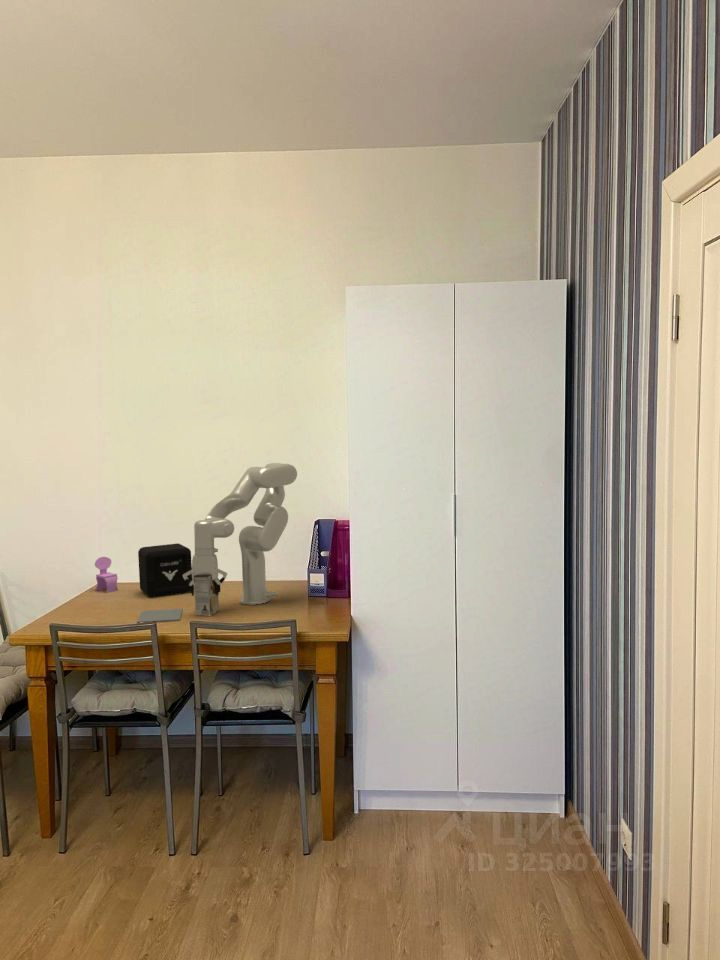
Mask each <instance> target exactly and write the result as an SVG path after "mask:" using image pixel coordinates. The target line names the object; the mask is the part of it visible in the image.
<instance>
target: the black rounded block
mask: <svg viewBox="0 0 720 960" xmlns="http://www.w3.org/2000/svg"><path fill="white" fill-rule="evenodd" d="M137 554H138V556H137V558H138V576H139V579H138V580H139V588H140V590H141V591H142V592H143V593H144V594H146V595H147V596H148V597H150V598H158V596H159V597H164V596H165V595H166V596H171V595H172V594H173V595H179V593H181V594H187V593H186V592H188V593H190V586H189V584H188V583H187V582H185V580H184V578H183V574H184V573H186V572H188V571H190V570H192V551H191V549H190V548H189V547H187V546H185V545H183V544H181V543H169V544H160V545H159V544H158V545H151V546H142V547H139V549H138V552H137ZM187 578H188V579H189V580H190V581H191V580H192V574H190V575H188V576H187Z"/></svg>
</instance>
